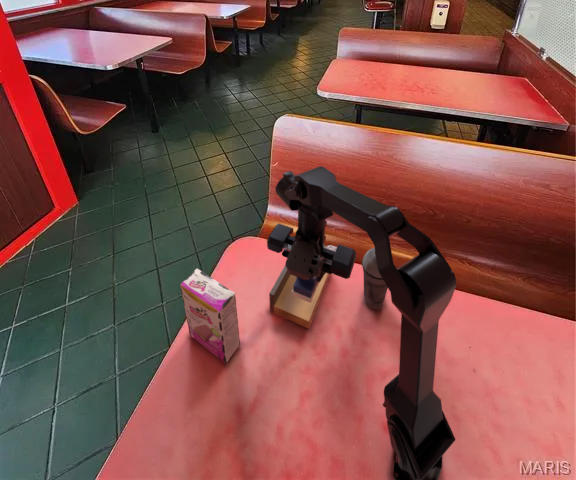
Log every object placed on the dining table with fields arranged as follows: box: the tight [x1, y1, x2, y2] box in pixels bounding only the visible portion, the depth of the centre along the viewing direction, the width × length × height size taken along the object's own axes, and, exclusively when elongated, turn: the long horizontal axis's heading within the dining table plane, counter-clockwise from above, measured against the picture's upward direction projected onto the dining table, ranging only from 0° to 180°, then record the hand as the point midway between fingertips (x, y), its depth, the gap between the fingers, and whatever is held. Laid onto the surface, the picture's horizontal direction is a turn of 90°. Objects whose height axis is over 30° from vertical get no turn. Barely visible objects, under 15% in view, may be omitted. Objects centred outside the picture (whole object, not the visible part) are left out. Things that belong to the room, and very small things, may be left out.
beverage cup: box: [361, 247, 389, 310], centre depth 77 cm, size 7×7×20 cm
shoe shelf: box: [268, 264, 331, 330], centre depth 82 cm, size 10×16×6 cm, turn 155°
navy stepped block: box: [292, 259, 321, 303], centre depth 73 cm, size 10×4×5 cm, turn 155°
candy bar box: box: [179, 268, 241, 365], centre depth 69 cm, size 11×5×16 cm, turn 58°
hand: (309, 276), depth 74 cm, fingers closed on navy stepped block, 4 cm apart
